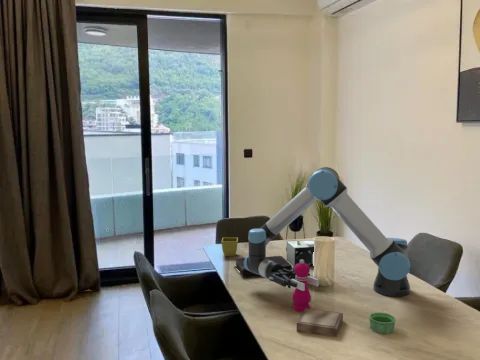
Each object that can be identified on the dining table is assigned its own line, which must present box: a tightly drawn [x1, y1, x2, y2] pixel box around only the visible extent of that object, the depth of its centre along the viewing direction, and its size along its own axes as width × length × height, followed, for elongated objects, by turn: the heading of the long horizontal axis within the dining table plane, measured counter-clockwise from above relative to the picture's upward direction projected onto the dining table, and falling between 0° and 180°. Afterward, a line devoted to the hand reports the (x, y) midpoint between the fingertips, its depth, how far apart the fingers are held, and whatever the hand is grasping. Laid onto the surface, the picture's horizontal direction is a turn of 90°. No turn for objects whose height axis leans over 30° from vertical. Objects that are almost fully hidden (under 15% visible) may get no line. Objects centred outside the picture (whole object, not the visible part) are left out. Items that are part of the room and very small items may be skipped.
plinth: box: [296, 308, 344, 338], centre depth 168 cm, size 14×14×3 cm
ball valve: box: [285, 239, 312, 270], centre depth 220 cm, size 18×8×18 cm, turn 11°
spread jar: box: [303, 240, 315, 268], centre depth 240 cm, size 12×11×12 cm
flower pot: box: [221, 237, 239, 257], centre depth 258 cm, size 9×9×9 cm
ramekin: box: [368, 311, 397, 335], centre depth 165 cm, size 9×9×4 cm
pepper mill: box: [291, 259, 312, 313], centre depth 183 cm, size 7×7×20 cm
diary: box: [233, 255, 293, 279], centre depth 232 cm, size 19×25×5 cm
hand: (310, 285), depth 178 cm, fingers open, 7 cm apart
